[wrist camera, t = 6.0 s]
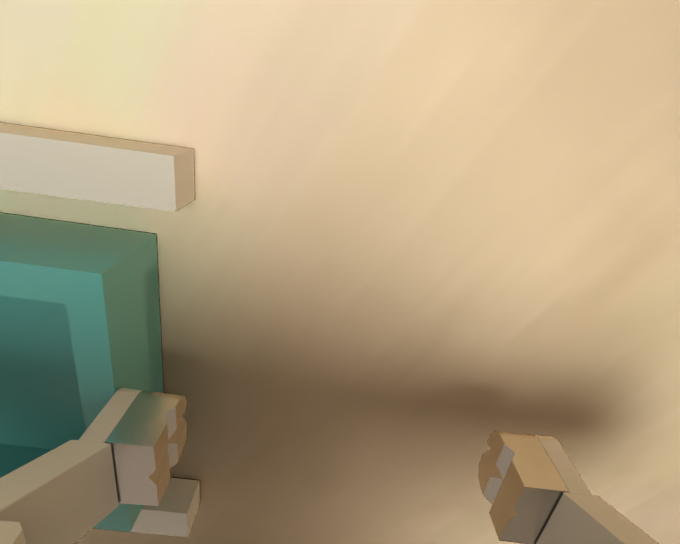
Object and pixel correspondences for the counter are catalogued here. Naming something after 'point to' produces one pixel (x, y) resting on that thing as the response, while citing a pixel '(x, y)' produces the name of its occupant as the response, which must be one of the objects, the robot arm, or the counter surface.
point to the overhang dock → (114, 188)
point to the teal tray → (72, 333)
